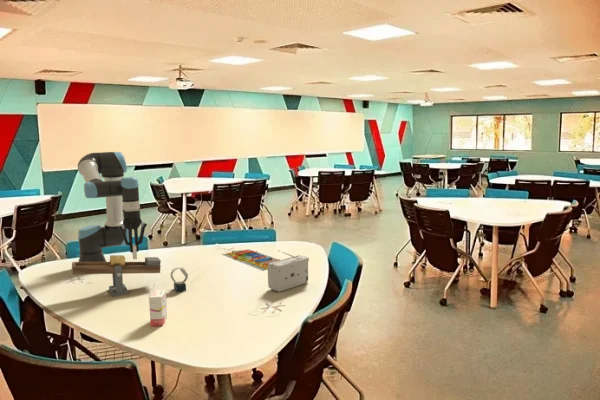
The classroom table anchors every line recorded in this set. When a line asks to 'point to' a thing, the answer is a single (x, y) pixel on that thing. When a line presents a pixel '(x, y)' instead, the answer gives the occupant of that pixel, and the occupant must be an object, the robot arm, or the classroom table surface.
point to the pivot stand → (118, 283)
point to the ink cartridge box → (157, 306)
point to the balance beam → (103, 268)
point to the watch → (181, 285)
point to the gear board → (252, 258)
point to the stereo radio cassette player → (288, 273)
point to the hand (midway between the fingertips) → (134, 258)
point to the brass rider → (117, 260)
